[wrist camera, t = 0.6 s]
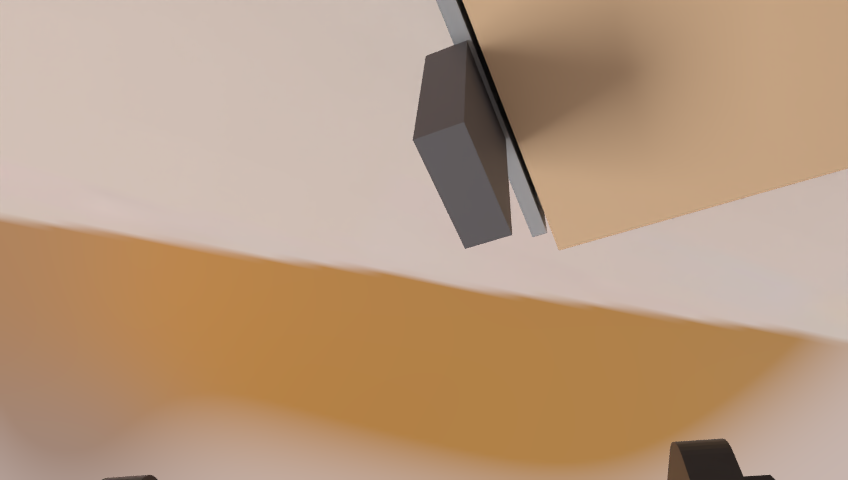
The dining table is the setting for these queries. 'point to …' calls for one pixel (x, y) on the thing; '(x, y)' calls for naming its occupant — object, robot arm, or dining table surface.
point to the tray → (471, 139)
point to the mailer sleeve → (666, 102)
